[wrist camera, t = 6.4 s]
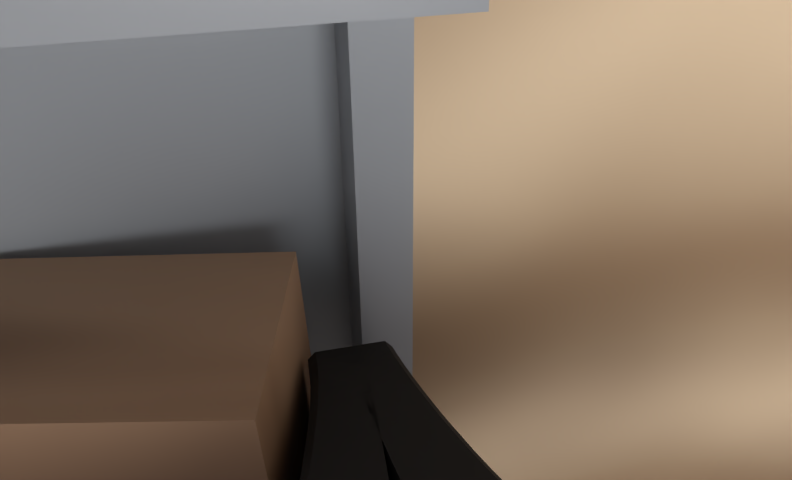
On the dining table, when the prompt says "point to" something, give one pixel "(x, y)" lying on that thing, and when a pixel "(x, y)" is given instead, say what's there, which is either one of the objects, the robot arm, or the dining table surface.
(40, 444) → the brown wooden block
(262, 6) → the tray
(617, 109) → the oak board
